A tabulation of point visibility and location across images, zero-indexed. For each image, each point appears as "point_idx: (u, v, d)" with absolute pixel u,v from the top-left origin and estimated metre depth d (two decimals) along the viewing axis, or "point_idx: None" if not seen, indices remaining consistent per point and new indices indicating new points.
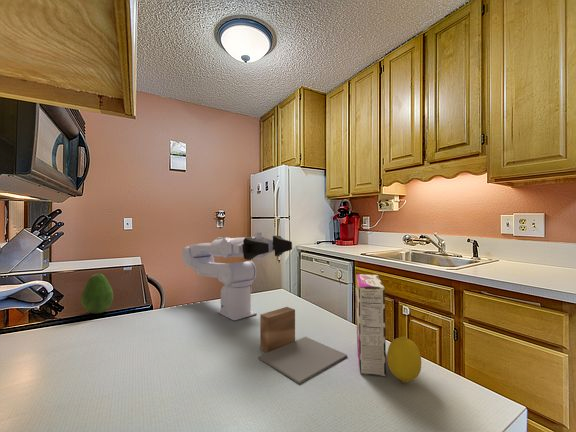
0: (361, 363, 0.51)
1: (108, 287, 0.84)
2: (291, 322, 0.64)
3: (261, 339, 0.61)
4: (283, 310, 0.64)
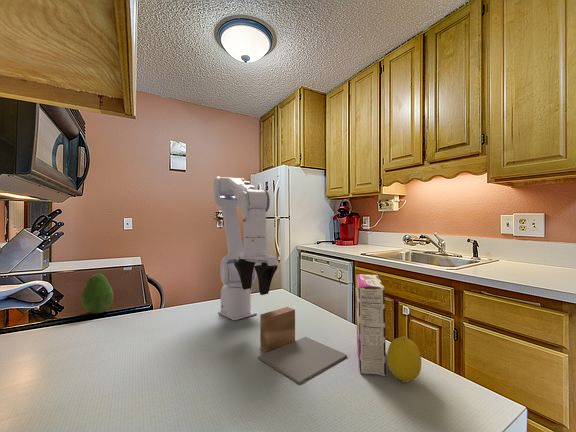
0: (361, 363, 0.51)
1: (108, 287, 0.84)
2: (291, 322, 0.64)
3: (261, 339, 0.61)
4: (283, 310, 0.64)
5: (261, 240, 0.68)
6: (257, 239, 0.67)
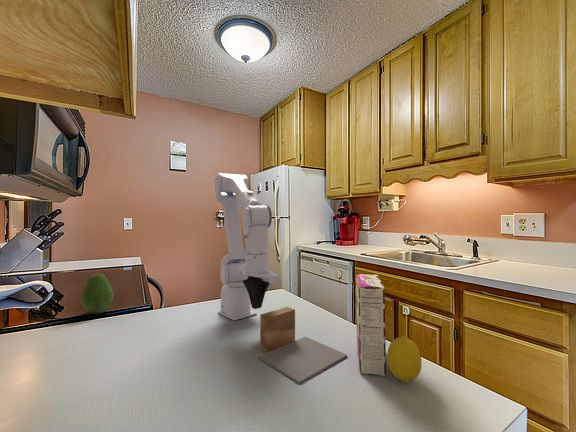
0: (361, 363, 0.51)
1: (108, 287, 0.84)
2: (291, 322, 0.64)
3: (261, 339, 0.61)
4: (283, 310, 0.64)
5: (263, 256, 0.67)
6: (259, 256, 0.66)
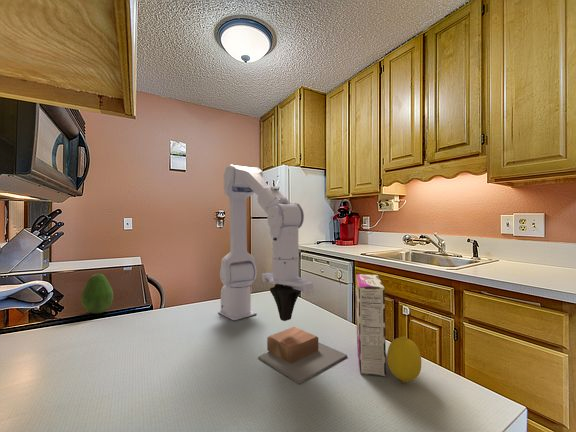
0: (361, 363, 0.51)
1: (108, 287, 0.84)
2: None
3: (273, 342, 0.58)
4: (310, 347, 0.58)
5: (294, 262, 0.59)
6: (289, 261, 0.58)
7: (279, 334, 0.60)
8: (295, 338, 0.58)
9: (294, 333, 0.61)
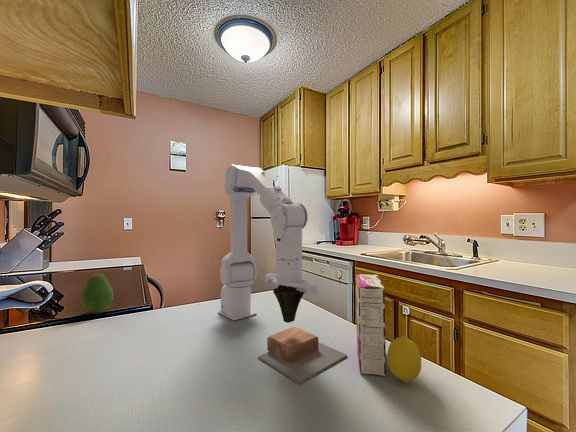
0: (361, 363, 0.51)
1: (108, 287, 0.84)
2: None
3: (273, 342, 0.58)
4: (310, 347, 0.58)
5: (298, 263, 0.58)
6: (293, 262, 0.58)
7: (279, 334, 0.60)
8: (295, 338, 0.58)
9: (294, 333, 0.61)
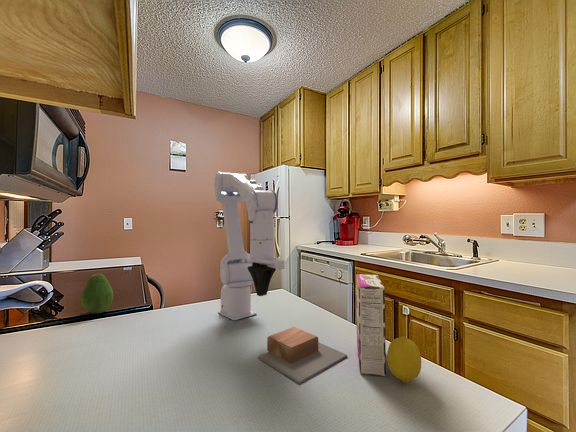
0: (361, 363, 0.51)
1: (108, 287, 0.84)
2: None
3: (273, 342, 0.58)
4: (310, 347, 0.58)
5: (269, 242, 0.66)
6: (264, 242, 0.65)
7: (279, 334, 0.60)
8: (295, 338, 0.58)
9: (294, 333, 0.61)
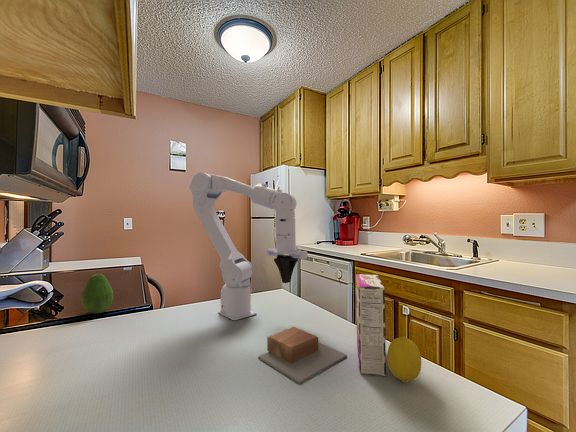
0: (361, 363, 0.51)
1: (108, 287, 0.84)
2: None
3: (273, 342, 0.58)
4: (310, 347, 0.58)
5: (292, 237, 0.77)
6: (289, 236, 0.77)
7: (279, 334, 0.60)
8: (295, 338, 0.58)
9: (294, 333, 0.61)
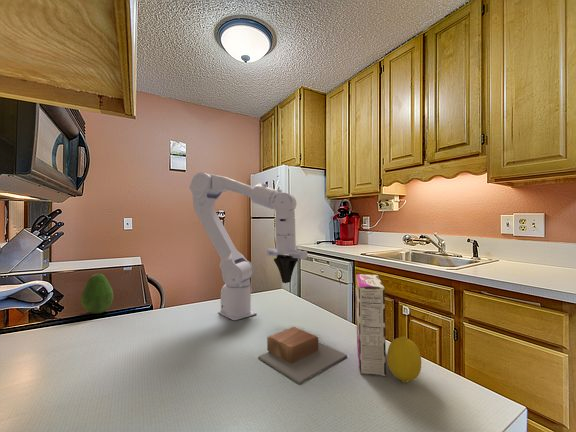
0: (361, 363, 0.51)
1: (108, 287, 0.84)
2: None
3: (273, 342, 0.58)
4: (310, 347, 0.58)
5: (292, 237, 0.77)
6: (289, 236, 0.77)
7: (279, 334, 0.60)
8: (295, 338, 0.58)
9: (294, 333, 0.61)
